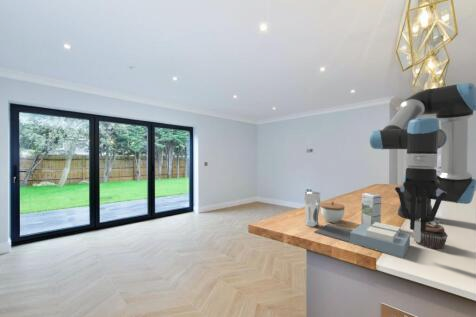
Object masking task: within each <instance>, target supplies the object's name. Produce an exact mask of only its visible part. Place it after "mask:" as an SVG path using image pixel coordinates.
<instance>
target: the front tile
mask: <svg viewBox="0 0 476 317" xmlns="http://www.w3.org/2000/svg"><path fill="white" fill-rule="evenodd" d="M366 236H369V237H373V238H377V239H381V240H385V241H389V242H394V240H395V239H396V232H393V231H388V230H384V229H379V228H375V227H371V226H370V227H369V228H368V229H367V230H366Z"/></svg>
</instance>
